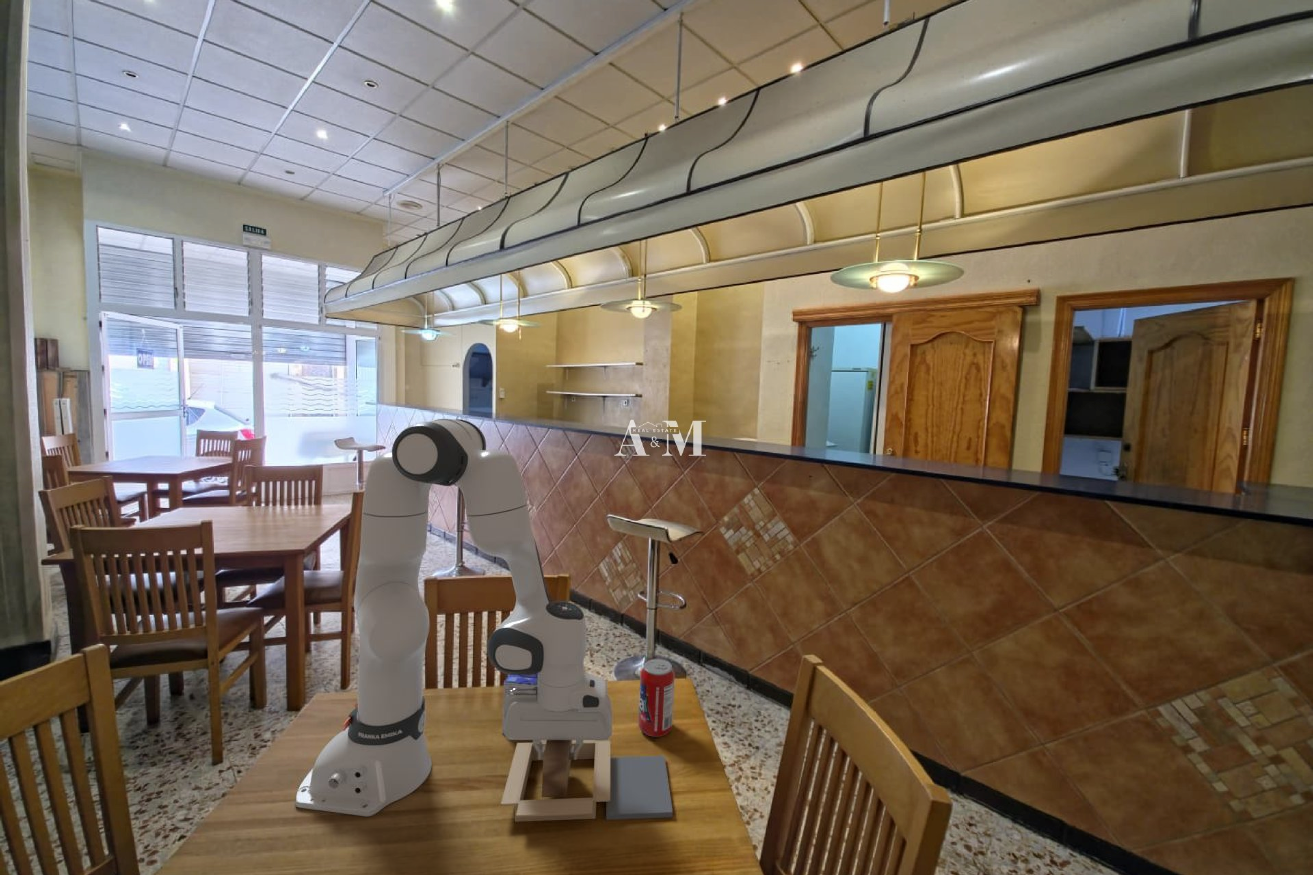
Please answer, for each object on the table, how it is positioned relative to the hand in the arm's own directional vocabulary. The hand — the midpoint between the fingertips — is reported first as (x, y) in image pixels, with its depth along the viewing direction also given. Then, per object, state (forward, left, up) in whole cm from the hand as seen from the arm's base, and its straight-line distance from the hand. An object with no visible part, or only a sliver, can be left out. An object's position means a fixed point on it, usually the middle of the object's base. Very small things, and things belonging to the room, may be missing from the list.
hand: (557, 757), depth 94 cm
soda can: (+21, +17, -7) cm, 27 cm away
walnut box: (0, 0, -4) cm, 4 cm away
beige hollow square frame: (+1, +1, -6) cm, 6 cm away
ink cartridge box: (-8, +18, -7) cm, 21 cm away
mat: (+16, 0, -6) cm, 17 cm away
